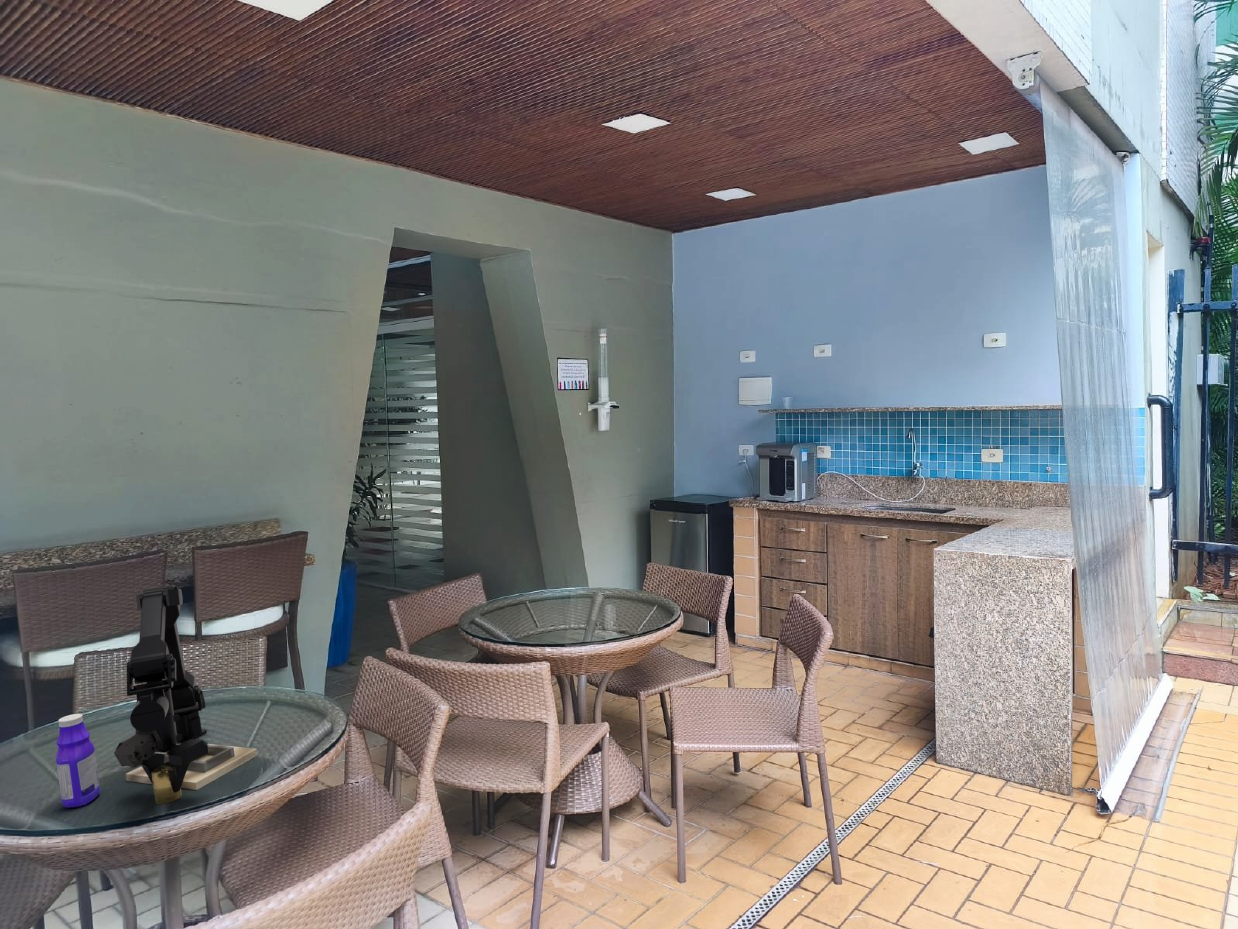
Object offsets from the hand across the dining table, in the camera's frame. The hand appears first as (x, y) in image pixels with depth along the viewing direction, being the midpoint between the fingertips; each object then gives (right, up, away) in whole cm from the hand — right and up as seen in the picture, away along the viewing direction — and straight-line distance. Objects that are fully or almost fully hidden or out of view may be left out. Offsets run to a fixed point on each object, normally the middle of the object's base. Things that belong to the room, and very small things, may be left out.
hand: (167, 790), depth 165 cm
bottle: (-18, -3, +2) cm, 19 cm away
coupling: (0, -2, 0) cm, 2 cm away
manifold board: (-2, -1, +14) cm, 14 cm away
